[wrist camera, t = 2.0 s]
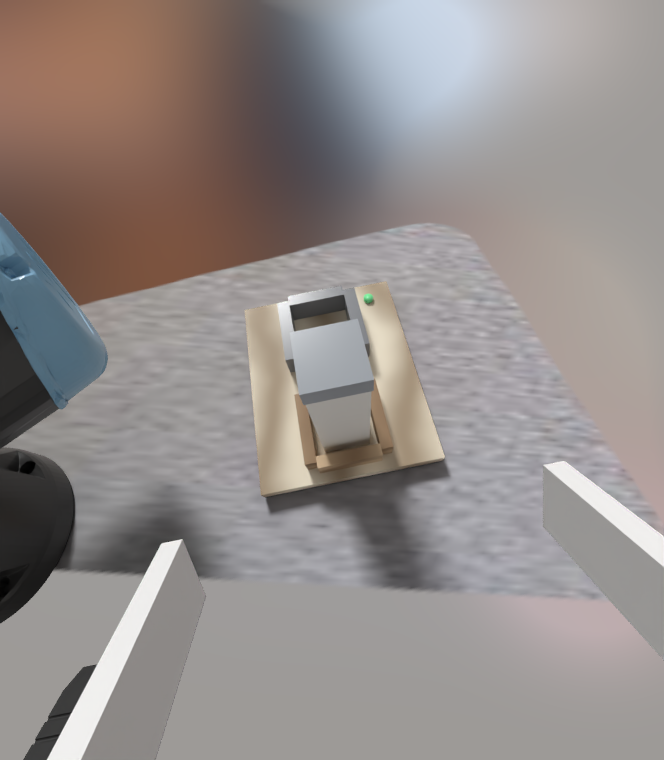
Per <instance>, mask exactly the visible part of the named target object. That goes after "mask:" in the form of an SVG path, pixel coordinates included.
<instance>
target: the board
mask: <svg viewBox="0 0 664 760" xmlns="http://www.w3.org/2000/svg"><path fill="white" fill-rule="evenodd" d="M355 292H356V296H357V299H358V303H359V306H360V310H361V314H362V317H363V321H364V325H365V328H366V332H367V335H368V339H369V343H370V350H369V357H368V359H369V362H370V366H371V370H372V374H373V377H374V378H375V380H376V384H377V388H378V391H379V395H380V399H381V402H382V406H383V410H384V413H385V417H386V421H387V425H388V428H389V432H390V436H391V439H392V443H393V450H392V453H388V454H383V458H382V461H378V462H373V463H368V464H363V465H359V466H354V467H349V468H344V469H339V470H334V471H329V472H325V473H320V472H319V470H318V468H315V469H310V470H308V469H307V467H306V466H305V464H304V457H303V450H302V443H301V437H300V430H299V423H298V416H297V410H296V403H295V396H294V395H295V394H299V391H298V384H297V378H296V372H291V373H290V370H289V368H288V366H287V363H286V361H285V355H284V348H283V341H282V334H281V327H280V320H279V313H278V306H277V304H272V305H267V306H262V307H257V308H252V309H247V310H245V319H246V331H247V342H248V353H249V365H250V376H251V387H252V399H253V410H254V421H255V433H256V444H257V455H258V467H259V478H260V489H261V495H262V496H263V497H268V496H273V495H278V494H283V493H287V492H292V491H297V490H302V489H307V488H312V487H317V486H321V485H326V484H331V483H336V482H341V481H346V480H351V479H355V478H360V477H365V476H370V475H375V474H380V473H385V472H390V471H394V470H399V469H404V468H409V467H414V466H419V465H424V464H428V463H433V462H438V461H442V460H443V459H444V458H445V456H444V453H443V450H442V447H441V444H440V441H439V438H438V435H437V432H436V429H435V426H434V423H433V420H432V417H431V414H430V411H429V408H428V405H427V402H426V399H425V396H424V393H423V390H422V387H421V384H420V381H419V378H418V375H417V372H416V369H415V366H414V363H413V360H412V357H411V354H410V351H409V348H408V345H407V342H406V339H405V336H404V333H403V330H402V327H401V324H400V321H399V318H398V315H397V312H396V309H395V306H394V303H393V300H392V297H391V294H390V291H389V288H388V285H387V282H386V281H385V282H380V283H375V284H371V285H366V286H361V287H356V288H355ZM366 294H371V295H372V296H373V301H372V302H371V303H365V302H364V295H366ZM344 321H348V319H347V315H346V311H345V310H342V311H337V312H332V313H327V314H322V315H317V316H312V317H307V318H303V319H298V320H294V323H295V329H296V331H299V330H304V329H309V328H314V327H319V326H324V325H329V324H334V323H339V322H344ZM312 425H313V431H314V437H315V443H316V449H317V455H318V456H320V455H325V454H330V453H335V452H340V451H344V450H349V449H354V448H359V447H364V446H369V445H374V444H378V443H377V439H376V435H375V431H374V427H373V423H372V419H371V416H370V442H369V444H364V445H359V446H355V447H350V448H345V449H340V450H335V451H330V452H325V451H324V449H323V446H322V444H321V441H320V439H319V437H318V434H317V432H316V429H315V427H314V424H313V422H312Z"/></svg>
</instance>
